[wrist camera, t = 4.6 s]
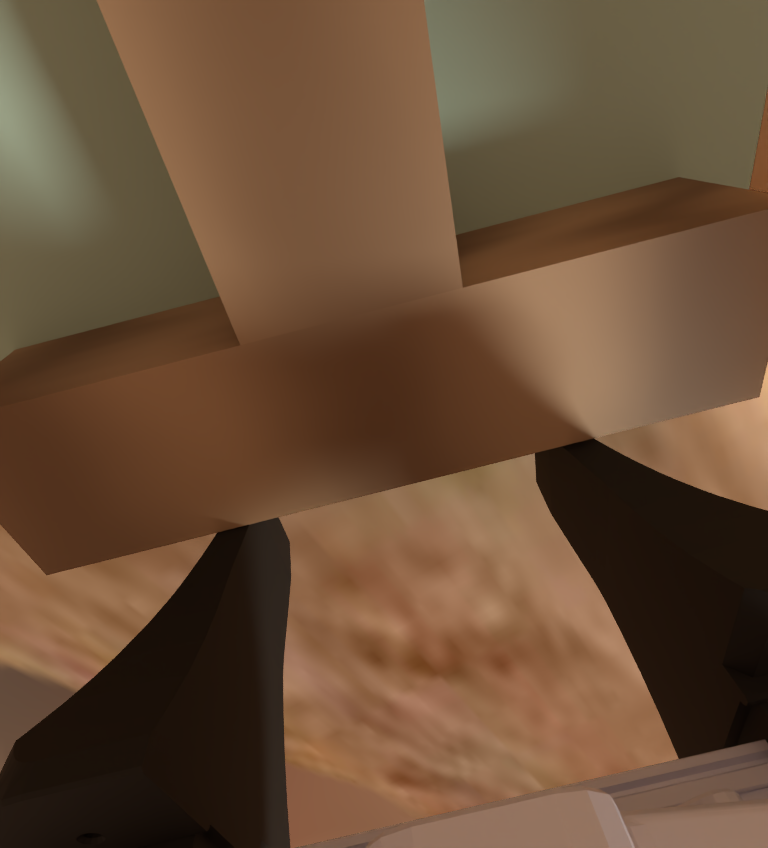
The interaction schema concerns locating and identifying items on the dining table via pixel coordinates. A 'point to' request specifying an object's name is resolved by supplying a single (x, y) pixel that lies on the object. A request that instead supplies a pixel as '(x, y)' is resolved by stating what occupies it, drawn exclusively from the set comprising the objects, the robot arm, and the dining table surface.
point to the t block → (357, 298)
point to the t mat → (460, 123)
